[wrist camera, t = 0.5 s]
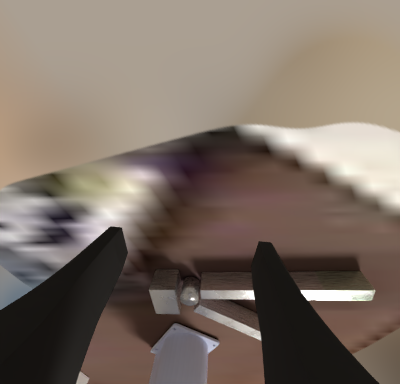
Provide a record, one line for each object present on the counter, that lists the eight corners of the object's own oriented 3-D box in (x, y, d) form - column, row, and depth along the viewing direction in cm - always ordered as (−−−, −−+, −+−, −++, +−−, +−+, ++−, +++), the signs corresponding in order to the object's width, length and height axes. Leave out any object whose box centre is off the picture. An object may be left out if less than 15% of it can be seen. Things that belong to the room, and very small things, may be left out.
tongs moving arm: (178, 286, 27) (174, 303, 25) (187, 274, 26) (185, 290, 24) (303, 342, 31) (310, 361, 29) (317, 334, 30) (325, 353, 28)
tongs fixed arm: (162, 292, 29) (156, 313, 26) (155, 269, 27) (148, 289, 24) (352, 293, 26) (368, 317, 23) (361, 267, 24) (379, 290, 21)
